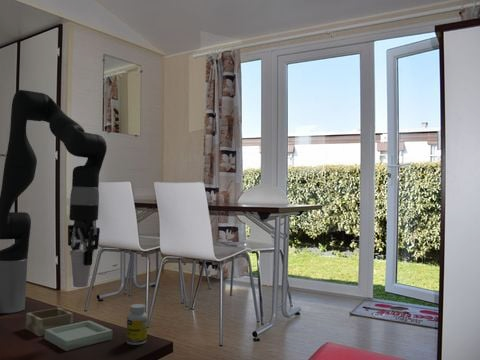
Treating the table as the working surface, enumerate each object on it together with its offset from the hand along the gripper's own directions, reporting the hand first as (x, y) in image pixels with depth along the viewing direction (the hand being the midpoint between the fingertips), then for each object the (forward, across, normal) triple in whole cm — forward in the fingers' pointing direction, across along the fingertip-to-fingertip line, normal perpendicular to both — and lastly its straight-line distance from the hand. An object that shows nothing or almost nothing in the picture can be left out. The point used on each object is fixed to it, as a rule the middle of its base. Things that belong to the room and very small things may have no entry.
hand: (81, 263), depth 114 cm
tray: (+21, 0, 0) cm, 21 cm away
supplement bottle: (+21, +13, +10) cm, 26 cm away
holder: (+21, -14, -2) cm, 25 cm away
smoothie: (+6, 0, 0) cm, 6 cm away
